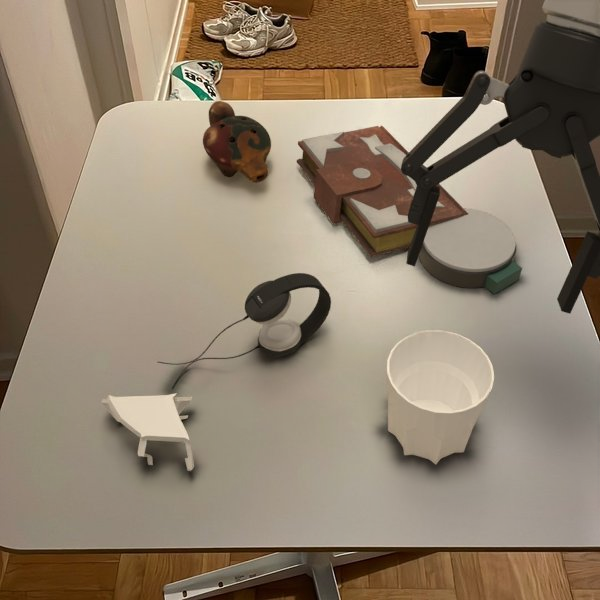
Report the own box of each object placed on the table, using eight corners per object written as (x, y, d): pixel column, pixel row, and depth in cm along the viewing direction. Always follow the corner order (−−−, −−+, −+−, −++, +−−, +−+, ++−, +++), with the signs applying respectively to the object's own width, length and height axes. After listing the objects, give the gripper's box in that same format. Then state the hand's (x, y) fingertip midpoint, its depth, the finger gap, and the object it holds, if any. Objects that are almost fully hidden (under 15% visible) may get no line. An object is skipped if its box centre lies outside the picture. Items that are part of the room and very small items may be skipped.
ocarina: (239, 132, 116) (239, 87, 110) (292, 185, 108) (295, 139, 102) (184, 150, 112) (181, 104, 106) (235, 206, 104) (235, 160, 98)
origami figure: (221, 415, 79) (216, 387, 75) (193, 483, 73) (186, 456, 70) (118, 393, 81) (108, 365, 77) (83, 457, 75) (71, 430, 72)
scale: (539, 267, 94) (545, 248, 91) (471, 307, 89) (475, 289, 87) (466, 213, 101) (469, 196, 99) (399, 249, 96) (401, 231, 94)
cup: (394, 380, 82) (402, 320, 74) (485, 404, 79) (501, 344, 72) (369, 454, 75) (374, 395, 68) (467, 483, 73) (483, 425, 65)
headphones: (173, 390, 84) (322, 305, 88) (188, 417, 82) (341, 329, 85) (144, 341, 77) (308, 251, 80) (159, 370, 74) (329, 275, 78)
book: (464, 237, 99) (473, 207, 96) (363, 263, 94) (368, 232, 90) (381, 148, 114) (386, 119, 110) (289, 167, 109) (291, 137, 105)
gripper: (734, 72, 58) (618, 308, 66) (427, -15, 59) (353, 228, 68) (774, 83, 51) (638, 345, 60) (425, -16, 52) (343, 254, 61)
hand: (486, 283), depth 64 cm, fingers open, 13 cm apart
